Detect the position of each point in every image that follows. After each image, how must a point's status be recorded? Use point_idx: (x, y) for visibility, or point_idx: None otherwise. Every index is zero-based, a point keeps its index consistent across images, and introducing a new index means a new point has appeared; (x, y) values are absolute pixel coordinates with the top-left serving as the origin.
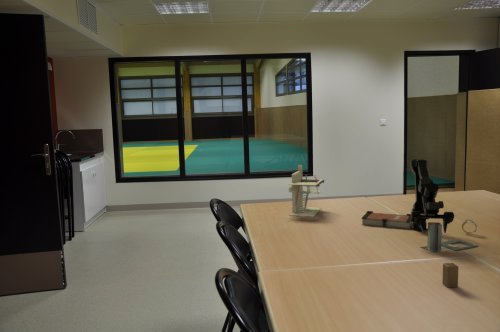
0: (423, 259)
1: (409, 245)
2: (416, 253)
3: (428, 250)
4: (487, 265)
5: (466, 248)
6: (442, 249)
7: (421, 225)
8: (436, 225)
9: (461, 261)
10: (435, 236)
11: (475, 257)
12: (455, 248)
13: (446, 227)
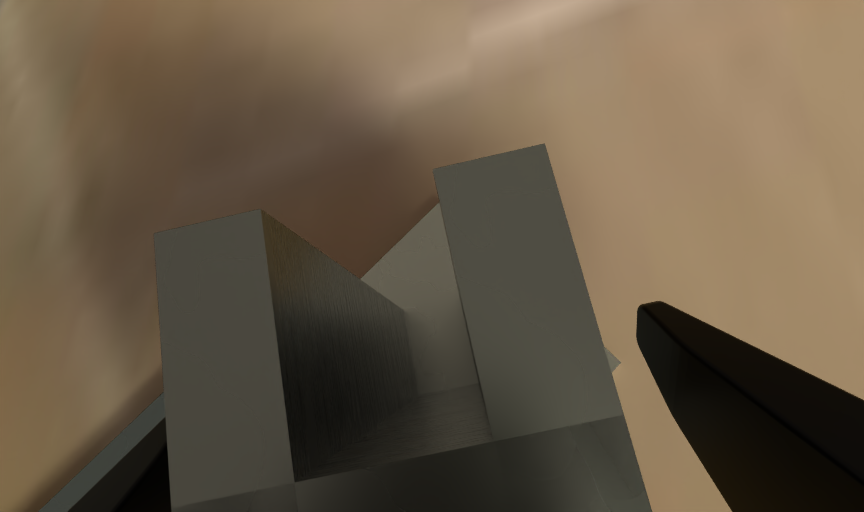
0: (542, 6)
1: None
2: (627, 156)
3: None
4: (35, 47)
5: (75, 484)
6: None
7: (824, 386)
8: (335, 461)
9: (216, 70)
10: (411, 408)
11: (69, 224)
12: None
13: (79, 505)
